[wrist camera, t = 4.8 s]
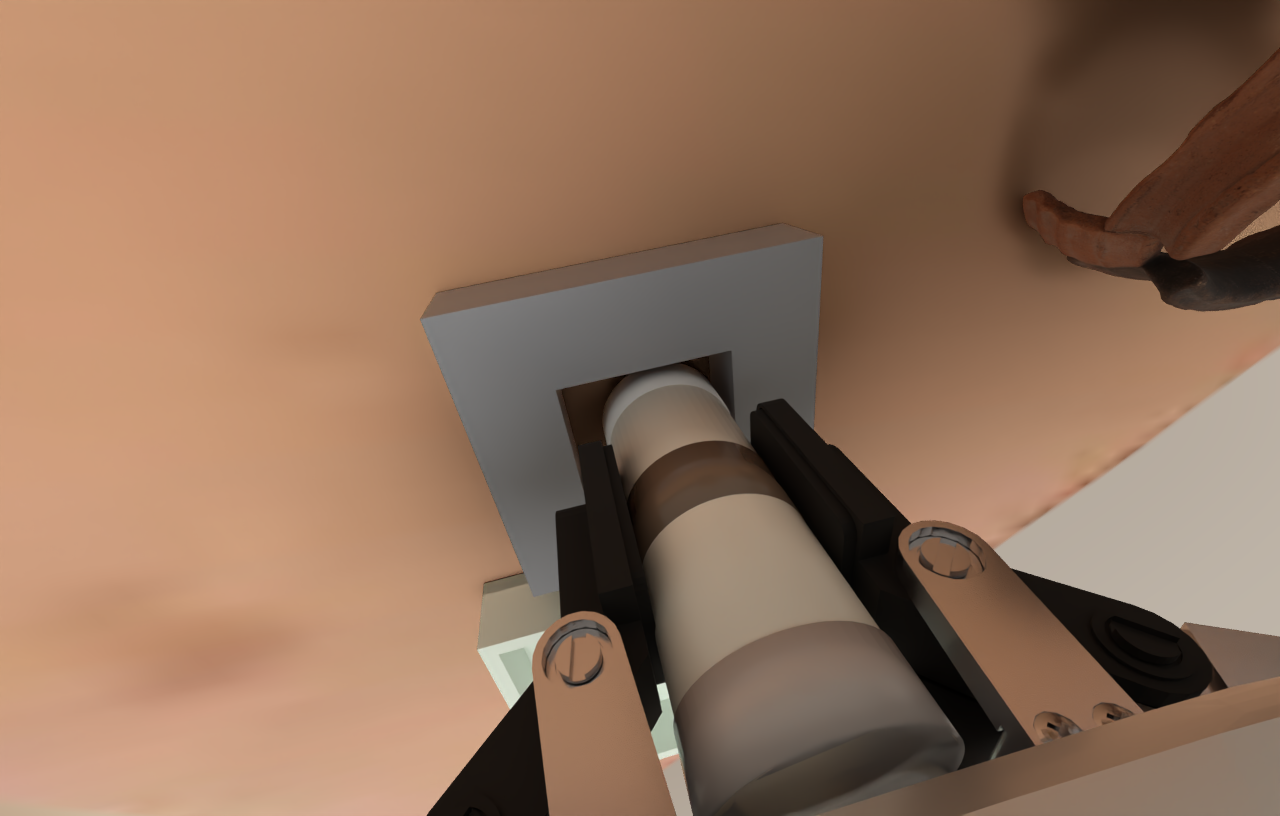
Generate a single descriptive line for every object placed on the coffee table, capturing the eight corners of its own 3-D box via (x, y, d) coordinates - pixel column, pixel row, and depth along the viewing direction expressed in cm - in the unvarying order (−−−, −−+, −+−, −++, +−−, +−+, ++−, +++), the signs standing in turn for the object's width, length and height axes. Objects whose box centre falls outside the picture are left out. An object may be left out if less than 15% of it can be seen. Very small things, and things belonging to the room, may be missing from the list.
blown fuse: (713, 350, 13) (995, 690, 5) (720, 449, 14) (936, 815, 7) (591, 377, 12) (686, 781, 5) (613, 475, 14) (709, 888, 6)
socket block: (782, 222, 12) (823, 235, 11) (780, 484, 17) (809, 522, 15) (436, 292, 12) (420, 319, 10) (533, 549, 16) (533, 597, 14)
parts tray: (729, 518, 17) (757, 571, 15) (740, 671, 22) (762, 727, 20) (483, 583, 16) (477, 649, 14) (553, 727, 22) (555, 791, 19)
